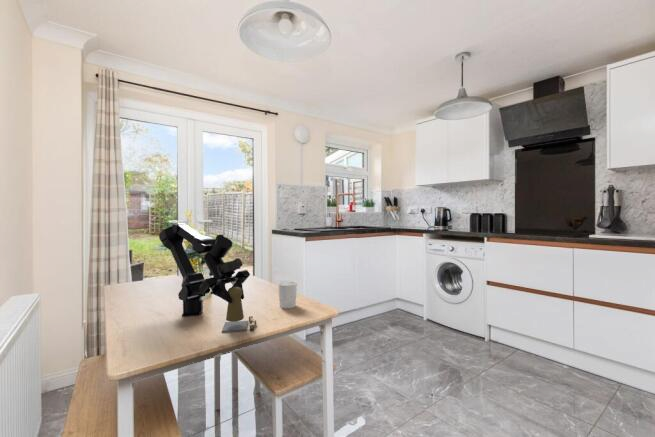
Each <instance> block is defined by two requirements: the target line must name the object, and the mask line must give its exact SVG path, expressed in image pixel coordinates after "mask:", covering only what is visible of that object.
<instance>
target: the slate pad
mask: <svg viewBox="0 0 655 437" xmlns="http://www.w3.org/2000/svg"><path fill="white" fill-rule="evenodd" d="M248 323H249V320H240V321H235V322H230V321H225V322H224V324H223V326H222V329H221V334H222V333H223V334H224V333H236V332H247V329H248Z"/></svg>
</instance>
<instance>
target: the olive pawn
mask: <svg viewBox="0 0 655 437" xmlns="http://www.w3.org/2000/svg"><path fill="white" fill-rule="evenodd" d="M231 287H232V286H231ZM231 287H229V288H228V289H227V292H228V293H229V295H230V297H231V299H232V301H233V302H232V303H229V302H227V310H226V318H225V321H226V322H235V321H243V320H244V317H245V316H244V315H245V314H244V311H243V310H244V309H243V302H242V299H241V296H242V289H241V288H240V287H232V288H231Z"/></svg>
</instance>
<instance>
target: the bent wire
mask: <svg viewBox="0 0 655 437" xmlns="http://www.w3.org/2000/svg"><path fill="white" fill-rule="evenodd" d="M248 323H250V325H249V331H250V332H252V331H254V330H255V328H256V326H257V320H255V319H254V317H253V316H252V315H250V316H248Z"/></svg>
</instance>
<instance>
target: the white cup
mask: <svg viewBox="0 0 655 437" xmlns="http://www.w3.org/2000/svg"><path fill="white" fill-rule="evenodd" d="M277 285H278V286H277V287H278V298H279V307H280V308H281V309H293V308H295V307H296V306H297V305H296V304H297V302H296V301H297V291H298V288H297V286H298V282H296V281H293V280H287V281H286V280H283V281H280V282H278V284H277Z"/></svg>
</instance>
